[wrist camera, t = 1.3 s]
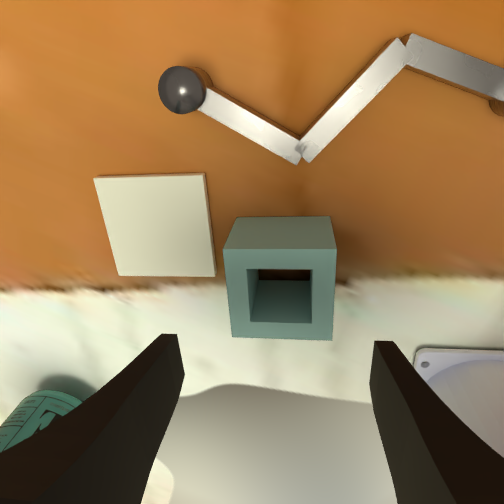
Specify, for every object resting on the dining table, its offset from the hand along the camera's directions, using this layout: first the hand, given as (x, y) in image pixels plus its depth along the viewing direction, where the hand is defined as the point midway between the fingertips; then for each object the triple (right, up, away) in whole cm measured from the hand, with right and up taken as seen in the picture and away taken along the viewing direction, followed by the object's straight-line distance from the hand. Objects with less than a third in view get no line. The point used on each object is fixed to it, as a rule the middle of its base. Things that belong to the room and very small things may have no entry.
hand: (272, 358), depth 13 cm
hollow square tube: (+1, +4, +7) cm, 8 cm away
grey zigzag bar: (+4, +11, +3) cm, 12 cm away
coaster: (-6, +5, +7) cm, 11 cm away
